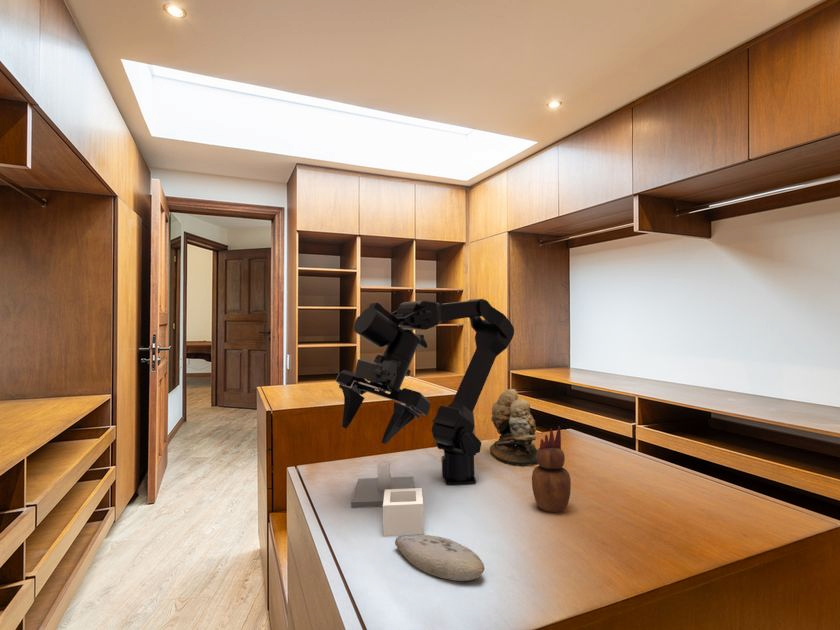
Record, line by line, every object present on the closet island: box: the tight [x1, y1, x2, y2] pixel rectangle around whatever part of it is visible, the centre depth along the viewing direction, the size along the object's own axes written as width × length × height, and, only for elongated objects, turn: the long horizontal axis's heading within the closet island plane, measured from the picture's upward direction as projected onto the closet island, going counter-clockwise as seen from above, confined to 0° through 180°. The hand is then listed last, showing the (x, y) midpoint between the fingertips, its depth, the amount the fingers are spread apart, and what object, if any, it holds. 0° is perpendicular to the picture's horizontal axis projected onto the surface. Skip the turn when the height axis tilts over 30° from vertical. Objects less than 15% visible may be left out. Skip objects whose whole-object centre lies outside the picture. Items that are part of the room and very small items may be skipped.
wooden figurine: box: [531, 425, 572, 513], centre depth 80 cm, size 7×6×15 cm
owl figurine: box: [489, 388, 539, 467], centre depth 110 cm, size 18×12×17 cm, turn 12°
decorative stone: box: [394, 534, 485, 582], centre depth 63 cm, size 6×16×3 cm, turn 53°
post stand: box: [350, 461, 415, 509], centre depth 89 cm, size 12×12×6 cm
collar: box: [382, 487, 425, 537], centre depth 75 cm, size 7×7×5 cm
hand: (363, 435), depth 79 cm, fingers open, 9 cm apart
